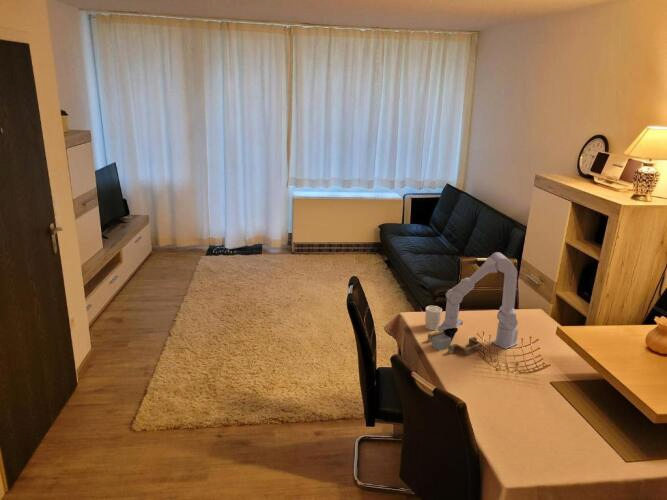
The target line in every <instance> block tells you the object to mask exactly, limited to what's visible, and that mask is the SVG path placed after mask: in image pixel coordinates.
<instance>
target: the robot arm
mask: <svg viewBox="0 0 667 500" xmlns="http://www.w3.org/2000/svg"><path fill="white" fill-rule="evenodd" d="M498 271H499V272H501V273H503V274H504V278H503V289H502V300H501V302H502V303H501V305H500V307H499V310H498V312H497V315H496V318H497V320H498V324H497V329H496V330H497V331H496V337H495V339H494V340H492V341H491V343H492V344H495V345H496V346H497V347H501V348H502V349H505V350H506V349H509V348H512V347H514V346H517V345H518V344H519V342H518V333H519V328H518V327H517V326H518V323H519V322H518V319H517V312H516V309H515V306H516V305H515V303H516V292H517V282H518V280H517V279H518V270H517V268H516V266H515V265H514V263H513V261H512V260H510V259H509V258H508V257H507V256H506V255H504V254H503V253H502V252H498V251H496V252H493V253H492V254H491V255H490V256H488V257H487V258H486V259H485V262H484V263H482V265H481V266H480V267H479V268H477V269H476V270H475V272H473V274H471V276H469V277H464V278H461V279H460V282H459V283H458V284H456V285H455V286H453V287H452V288H450V289H448V290H447V291H446V292H445V297H446V304H445V305H446V306H445V315H444V320H443V321H442V324H440V326H439V327H438V330H437V332H439V331H440V332H442V331H444V333H445V335H447V336H448V337H450V338H451V343H452V342H453V339H454V337H455V335H456V333H457V332H458V331H459V329H458V327H459V326H463V324H464V320H462V319H459V312H460V311H459V310H460V303H462V302H463V299H464V297H465V296H466V295H468V293H470V291H472V290H473V289H474V288H475V285H476V284H477V282H478V281H480V280H481V279H482V278H484V277H485V276H486V275H488V274H490V273H498Z"/></svg>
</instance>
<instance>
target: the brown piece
mask: <svg viewBox="0 0 667 500" xmlns="http://www.w3.org/2000/svg"><path fill="white" fill-rule="evenodd" d="M441 334H445V333H444V331H442V332H440V331H436V332H433V333H430V332H429V333H427V342H429V343H432V337H435V336H438V335H441ZM468 345H469V346H466V347H464V346H462V345H460V344H457V343H454V344H449V346H448V348H447V352H448V353H449V354H451V355H452V354H454V353H458V354H460V355H463V356H464V357H466V356H469V355H472V354H475V353H476V351H477V352H479V351H481V350H482V348H483V343H481V342H480V341H478V338H477V337H476V336H472V337H470V338H469V339H468Z"/></svg>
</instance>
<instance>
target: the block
mask: <svg viewBox="0 0 667 500" xmlns="http://www.w3.org/2000/svg"><path fill="white" fill-rule="evenodd" d="M451 343H452V342H451V338H450V337H448V336H447V335H445V334H441V335H438V336H435V337H432V342H431V347H432V348H433V349H436V350H437V351H439V352H440V351H443V350H446V349H448V346H449V344H451ZM451 345H452V344H451Z"/></svg>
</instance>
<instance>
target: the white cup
mask: <svg viewBox="0 0 667 500" xmlns="http://www.w3.org/2000/svg"><path fill="white" fill-rule="evenodd" d="M442 313H443V308H442V307H440V306H438V305H428V306H426V307H425V317H424V320H425V321H424V322H425V325H424V326H425V328H426V329H427V330H430V331H438V327H439V326H441V320H442Z"/></svg>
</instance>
